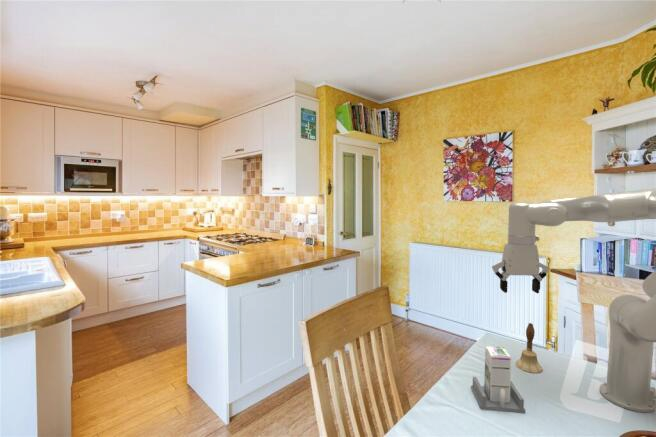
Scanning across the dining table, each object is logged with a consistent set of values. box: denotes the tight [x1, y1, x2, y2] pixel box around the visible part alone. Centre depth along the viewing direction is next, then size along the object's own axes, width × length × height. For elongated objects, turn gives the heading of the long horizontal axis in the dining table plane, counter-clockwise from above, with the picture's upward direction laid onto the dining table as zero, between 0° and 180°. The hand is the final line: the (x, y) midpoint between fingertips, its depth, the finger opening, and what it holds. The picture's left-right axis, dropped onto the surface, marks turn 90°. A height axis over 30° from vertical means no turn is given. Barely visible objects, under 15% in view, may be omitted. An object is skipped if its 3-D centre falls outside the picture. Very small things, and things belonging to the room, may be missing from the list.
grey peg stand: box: [470, 376, 526, 414], centre depth 98 cm, size 12×10×6 cm
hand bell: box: [515, 322, 543, 374], centre depth 115 cm, size 8×8×16 cm
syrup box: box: [483, 346, 512, 403], centre depth 97 cm, size 6×6×14 cm
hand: (519, 291), depth 107 cm, fingers open, 9 cm apart
